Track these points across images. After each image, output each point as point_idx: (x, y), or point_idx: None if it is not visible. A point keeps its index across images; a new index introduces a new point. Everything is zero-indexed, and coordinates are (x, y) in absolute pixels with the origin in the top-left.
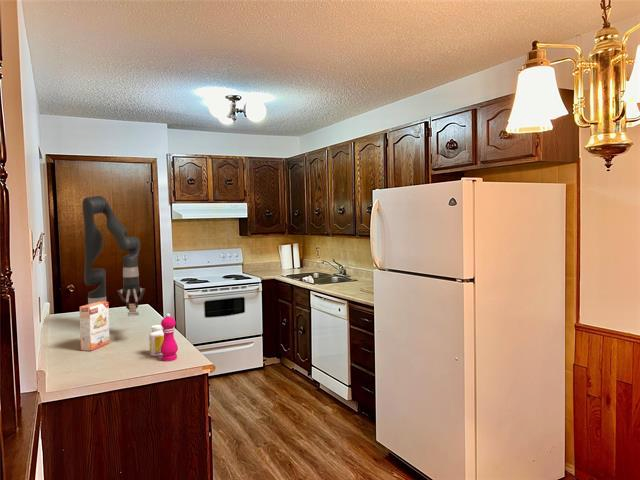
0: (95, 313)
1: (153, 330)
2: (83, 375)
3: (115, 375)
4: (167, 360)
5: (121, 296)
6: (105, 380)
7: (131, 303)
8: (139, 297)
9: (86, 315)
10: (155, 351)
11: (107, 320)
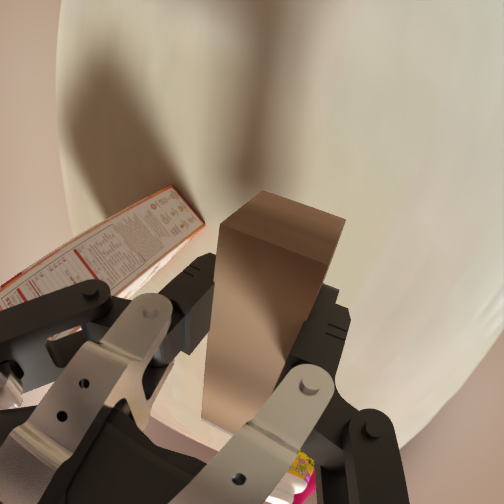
0: None
1: None
2: (157, 400)
3: (202, 435)
4: None
5: (49, 370)
6: (188, 434)
7: (265, 247)
8: (320, 475)
9: None
10: None
11: (122, 297)
